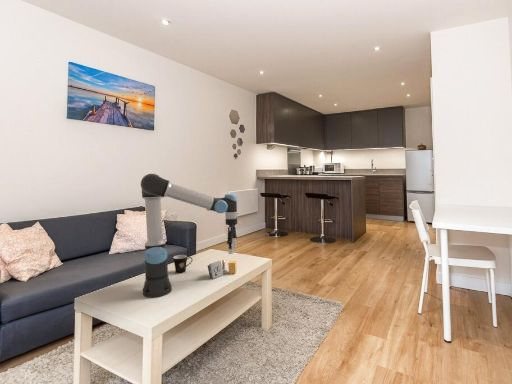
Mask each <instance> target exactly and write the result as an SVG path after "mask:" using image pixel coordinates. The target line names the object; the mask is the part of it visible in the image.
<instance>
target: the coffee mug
mask: <svg viewBox="0 0 512 384" xmlns="http://www.w3.org/2000/svg"><path fill="white" fill-rule="evenodd" d="M188 259H191V260H190V262H189V263H188V264H187V261H188ZM192 263H193V257H191V256H190V257H188V256H187V255H185V254H180V255H179V254H178V255H174V256H173V264H174V269H175V273H176V274H184V273H186V271H187V267H188V266H189V265H191V264H192Z"/></svg>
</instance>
